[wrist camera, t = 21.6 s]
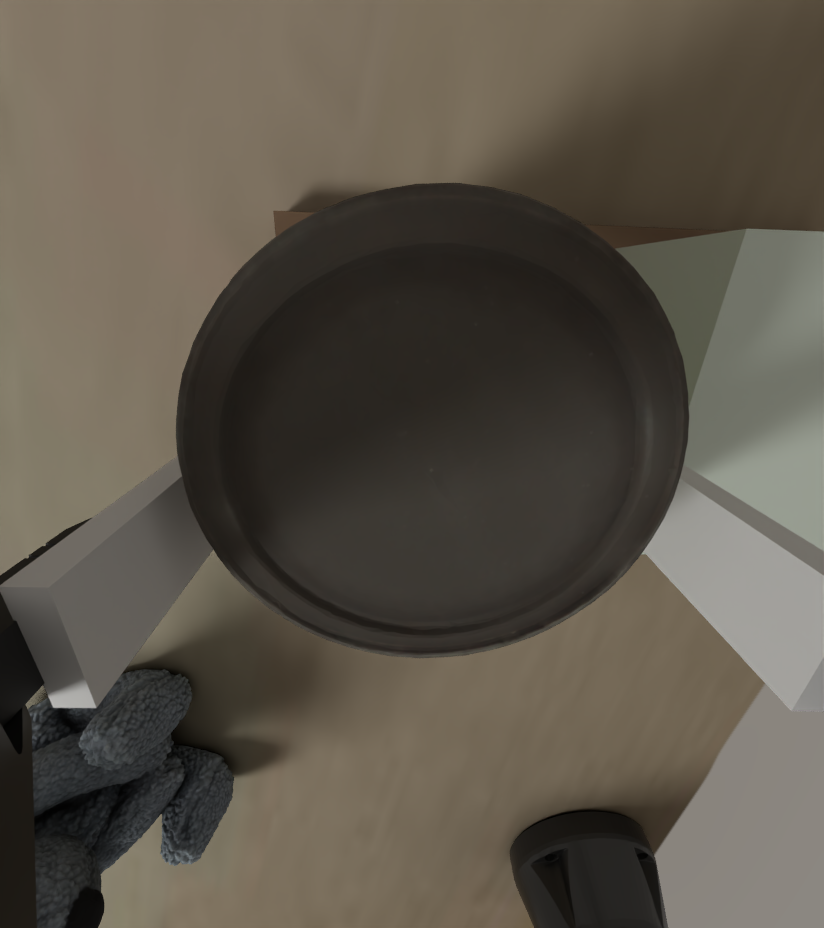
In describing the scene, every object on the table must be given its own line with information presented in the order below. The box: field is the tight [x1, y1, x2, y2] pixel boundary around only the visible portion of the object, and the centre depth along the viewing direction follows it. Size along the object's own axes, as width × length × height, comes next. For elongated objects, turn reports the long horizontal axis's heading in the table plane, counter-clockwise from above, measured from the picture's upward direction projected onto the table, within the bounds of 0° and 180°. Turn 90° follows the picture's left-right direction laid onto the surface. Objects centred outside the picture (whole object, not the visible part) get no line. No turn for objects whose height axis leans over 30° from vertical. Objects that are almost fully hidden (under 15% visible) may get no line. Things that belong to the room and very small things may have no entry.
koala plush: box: [28, 669, 234, 928], centre depth 27 cm, size 17×18×20 cm
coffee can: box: [176, 183, 689, 658], centre depth 15 cm, size 10×10×14 cm
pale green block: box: [616, 229, 824, 554], centre depth 18 cm, size 11×11×9 cm
